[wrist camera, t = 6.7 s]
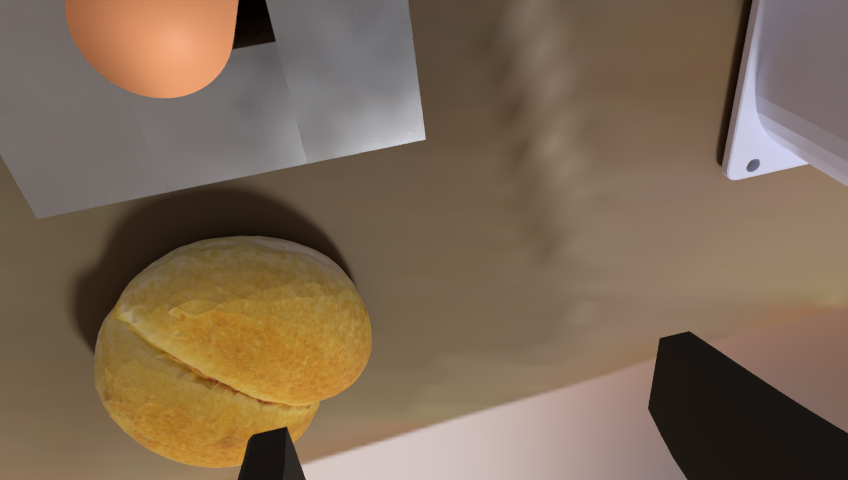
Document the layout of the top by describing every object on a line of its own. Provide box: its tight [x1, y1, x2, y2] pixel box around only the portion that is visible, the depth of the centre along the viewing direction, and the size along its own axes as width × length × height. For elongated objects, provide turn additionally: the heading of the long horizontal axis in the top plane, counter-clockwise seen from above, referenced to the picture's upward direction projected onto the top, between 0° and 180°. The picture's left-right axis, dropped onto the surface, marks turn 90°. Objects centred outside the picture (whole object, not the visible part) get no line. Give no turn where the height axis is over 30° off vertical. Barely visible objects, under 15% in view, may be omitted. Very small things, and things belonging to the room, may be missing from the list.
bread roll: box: [94, 236, 372, 468], centre depth 20 cm, size 8×9×4 cm
